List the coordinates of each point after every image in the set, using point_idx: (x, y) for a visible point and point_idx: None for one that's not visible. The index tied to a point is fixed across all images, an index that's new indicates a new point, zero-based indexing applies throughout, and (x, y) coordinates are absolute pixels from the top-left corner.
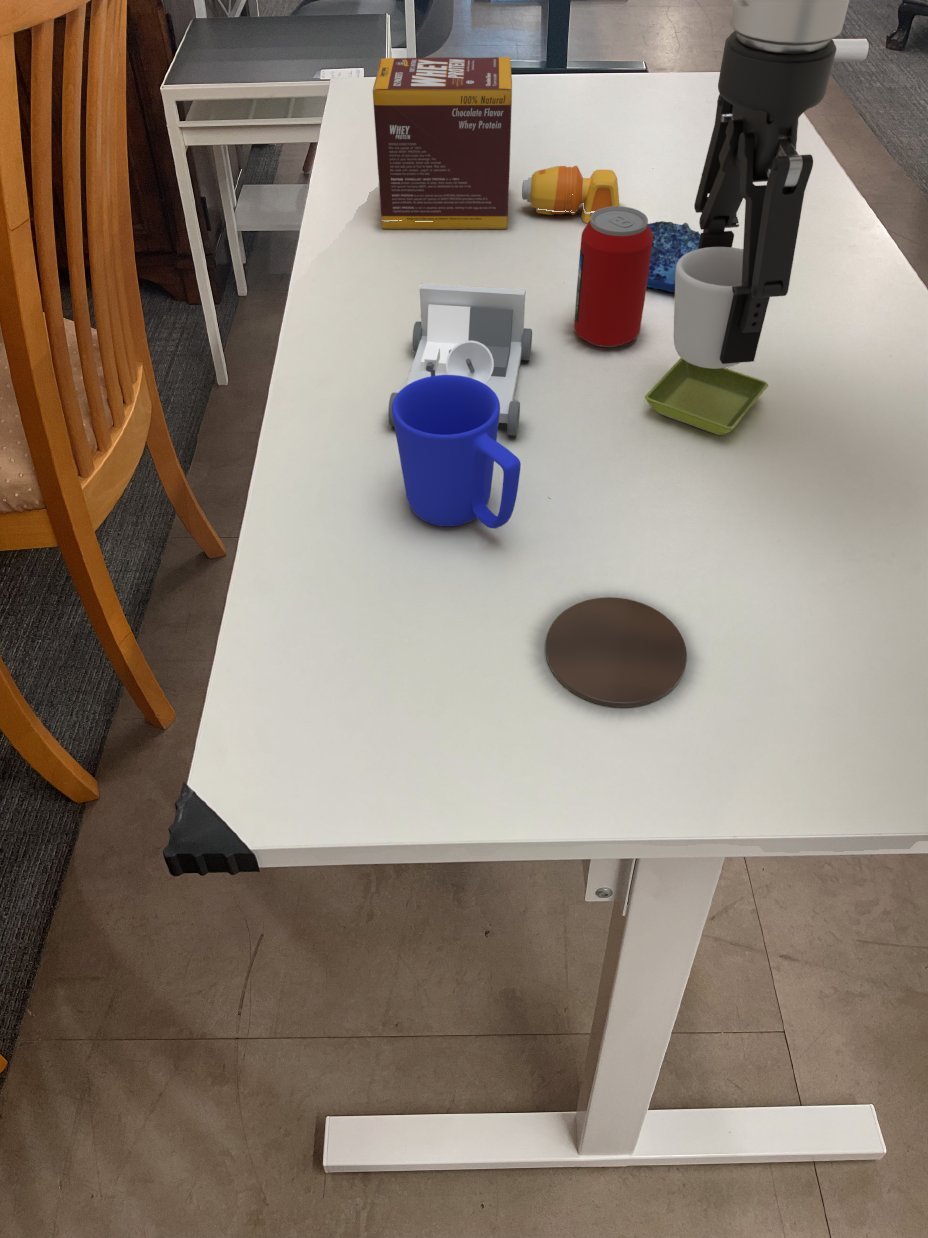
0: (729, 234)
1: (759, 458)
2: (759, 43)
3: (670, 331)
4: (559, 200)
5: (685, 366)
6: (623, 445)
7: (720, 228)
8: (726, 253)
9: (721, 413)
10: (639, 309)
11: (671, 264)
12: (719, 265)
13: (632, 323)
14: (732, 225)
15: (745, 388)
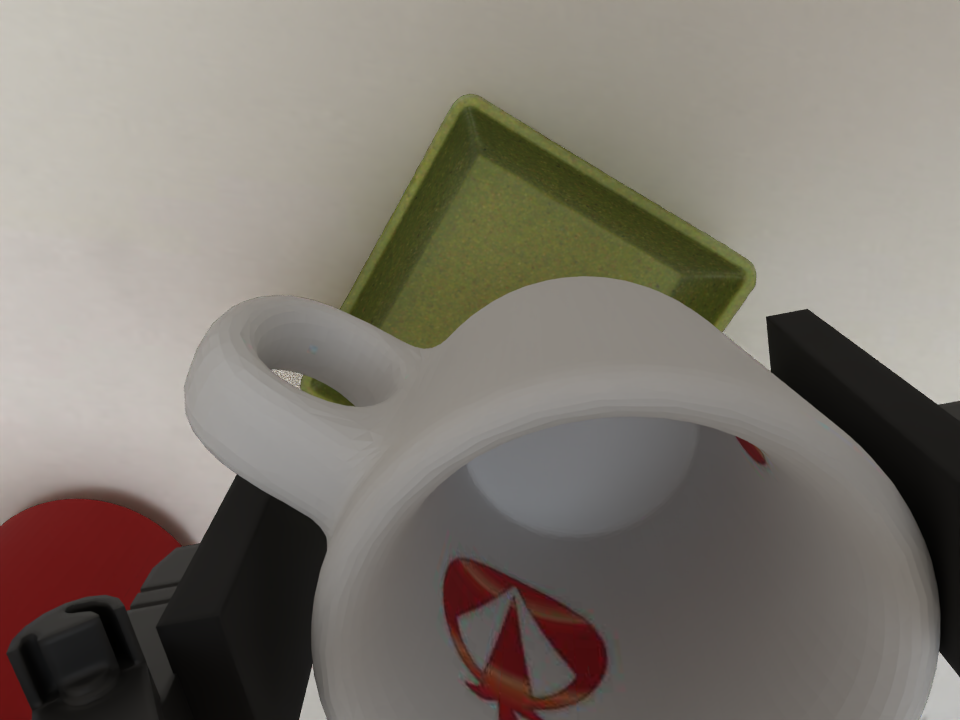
0: (224, 646)
1: (796, 154)
2: None
3: (33, 378)
4: None
5: None
6: None
7: (179, 714)
8: (362, 614)
9: (577, 263)
10: (101, 575)
11: None
12: (392, 601)
13: (147, 570)
14: (141, 651)
15: (450, 170)
